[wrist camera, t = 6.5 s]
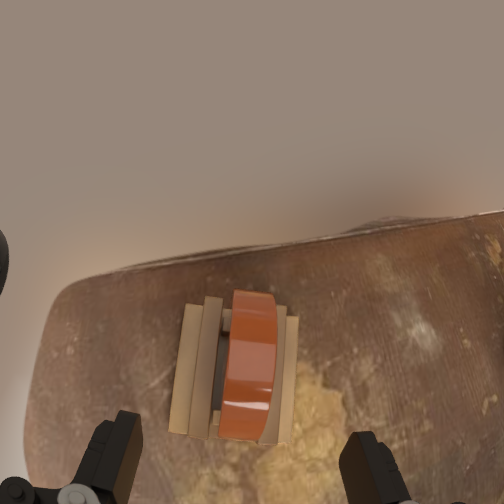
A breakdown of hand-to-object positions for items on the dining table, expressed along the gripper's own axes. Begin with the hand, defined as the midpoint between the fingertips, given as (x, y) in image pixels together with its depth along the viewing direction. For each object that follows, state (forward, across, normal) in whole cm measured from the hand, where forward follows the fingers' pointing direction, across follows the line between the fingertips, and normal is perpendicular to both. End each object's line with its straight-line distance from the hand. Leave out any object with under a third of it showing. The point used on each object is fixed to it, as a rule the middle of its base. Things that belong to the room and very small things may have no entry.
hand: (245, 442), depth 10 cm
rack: (+10, 0, +5) cm, 11 cm away
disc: (+9, 0, +3) cm, 9 cm away
